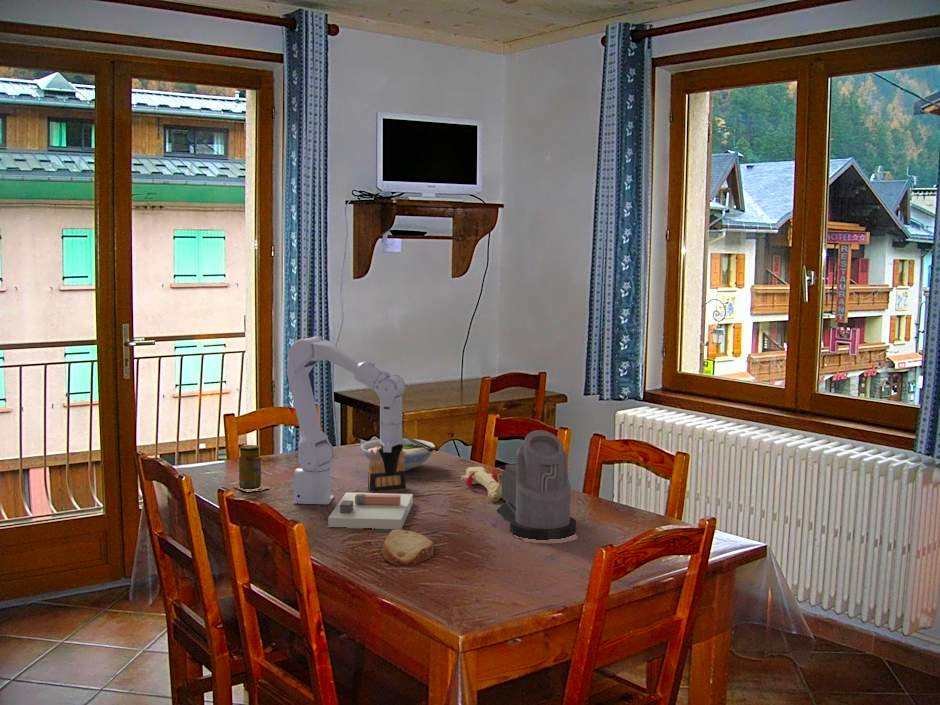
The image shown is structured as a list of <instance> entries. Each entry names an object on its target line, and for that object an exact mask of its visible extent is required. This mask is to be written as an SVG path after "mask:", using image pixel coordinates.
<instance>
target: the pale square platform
mask: <svg viewBox="0 0 940 705" xmlns="http://www.w3.org/2000/svg"><path fill="white" fill-rule="evenodd" d="M356 494H369V495H401V503H400V505H383V504H355V495H356ZM413 500H414V494H413V493H383V492H381V493H379V492H378V493H377V492H375V493H373V492H345V494H344V495H343V497H342V498H341V499H340V501H339V502H338V504H337V505H336V506H335V507H334V509H333V510H332V512H331V514H329V516H328V518H327V520H328V521H327V522H328V525H327V526H328V527H347V528H346V529H363V528H372V529H373V530H403V526H404V524H405V522H406V519H407V517H408V515H409V512H410V511H411V508H412V506H413V502H414V501H413ZM374 528H375V529H374ZM372 529H371V530H372Z"/></svg>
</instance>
